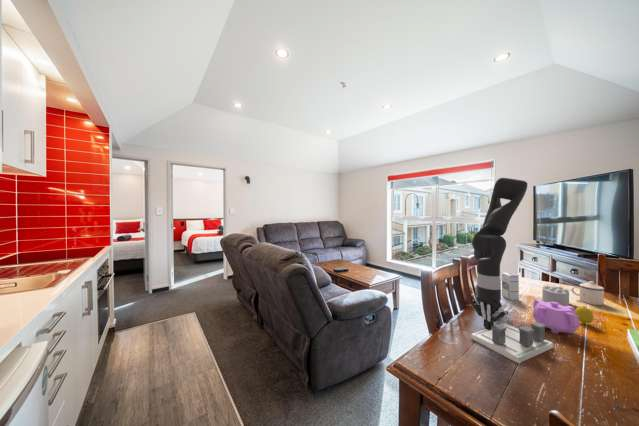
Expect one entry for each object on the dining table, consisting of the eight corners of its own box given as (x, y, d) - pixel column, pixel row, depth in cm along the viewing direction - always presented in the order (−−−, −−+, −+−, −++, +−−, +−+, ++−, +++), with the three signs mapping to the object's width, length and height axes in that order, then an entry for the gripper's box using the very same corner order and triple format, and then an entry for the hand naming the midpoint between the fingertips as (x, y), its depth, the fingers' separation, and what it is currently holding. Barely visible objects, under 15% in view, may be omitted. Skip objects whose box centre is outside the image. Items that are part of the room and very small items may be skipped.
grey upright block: (491, 341, 85) (491, 326, 85) (497, 339, 87) (498, 324, 87) (499, 345, 83) (499, 329, 82) (506, 343, 84) (506, 327, 84)
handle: (530, 338, 87) (530, 323, 87) (536, 336, 88) (536, 321, 88) (540, 342, 84) (540, 327, 84) (545, 340, 86) (545, 325, 86)
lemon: (597, 327, 99) (597, 309, 99) (582, 326, 100) (582, 308, 100) (585, 321, 104) (585, 304, 104) (571, 320, 106) (571, 303, 106)
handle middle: (518, 343, 84) (518, 327, 84) (524, 340, 85) (524, 325, 85) (527, 347, 81) (527, 331, 81) (534, 344, 83) (534, 329, 83)
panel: (471, 338, 91) (471, 333, 91) (504, 327, 99) (504, 322, 99) (518, 363, 76) (518, 357, 76) (552, 348, 85) (552, 342, 85)
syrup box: (519, 300, 130) (519, 275, 129) (509, 300, 130) (509, 275, 130) (511, 296, 135) (511, 272, 135) (501, 296, 135) (501, 272, 135)
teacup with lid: (604, 302, 125) (604, 282, 125) (604, 307, 119) (604, 285, 119) (572, 296, 134) (572, 277, 134) (570, 300, 129) (570, 280, 129)
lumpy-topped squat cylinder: (568, 302, 126) (569, 286, 126) (569, 309, 118) (569, 292, 118) (542, 296, 134) (543, 282, 134) (541, 303, 125) (541, 287, 125)
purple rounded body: (516, 319, 107) (516, 294, 107) (552, 318, 107) (552, 294, 107) (556, 340, 89) (556, 311, 89) (599, 340, 89) (599, 311, 89)
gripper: (514, 289, 83) (514, 336, 83) (477, 279, 95) (477, 319, 95) (501, 292, 80) (501, 340, 80) (465, 281, 92) (465, 323, 93)
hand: (488, 329), depth 88 cm, fingers closed
